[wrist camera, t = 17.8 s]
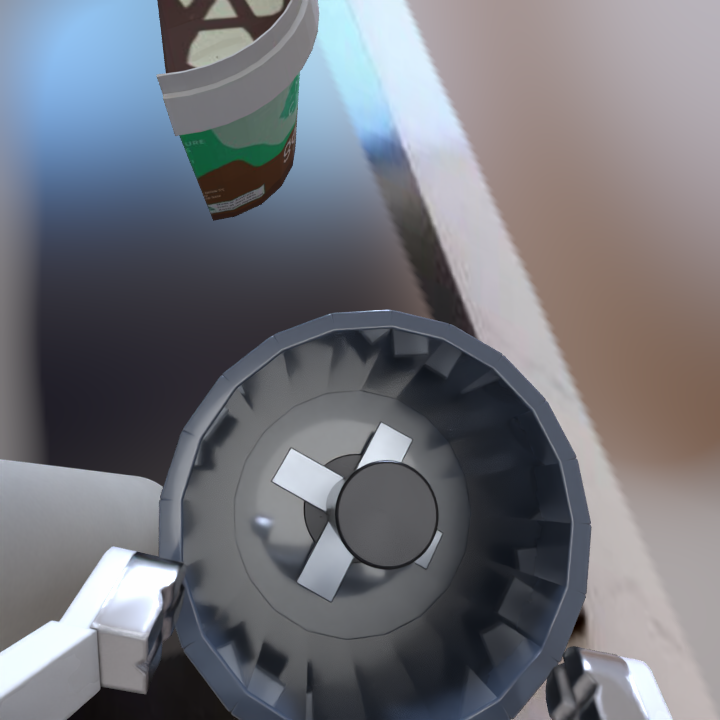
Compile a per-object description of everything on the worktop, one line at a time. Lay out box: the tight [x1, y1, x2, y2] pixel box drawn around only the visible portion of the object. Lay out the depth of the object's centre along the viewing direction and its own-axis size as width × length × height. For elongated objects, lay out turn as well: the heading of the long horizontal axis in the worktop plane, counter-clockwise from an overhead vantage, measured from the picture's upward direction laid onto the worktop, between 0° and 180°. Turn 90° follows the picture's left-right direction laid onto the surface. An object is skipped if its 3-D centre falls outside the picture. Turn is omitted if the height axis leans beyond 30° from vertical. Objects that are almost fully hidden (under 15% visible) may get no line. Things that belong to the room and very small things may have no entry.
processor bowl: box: [159, 310, 591, 720], centre depth 18 cm, size 12×12×10 cm
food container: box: [157, 0, 319, 220], centre depth 22 cm, size 12×6×10 cm, turn 11°
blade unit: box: [271, 422, 443, 603], centre depth 17 cm, size 7×7×10 cm
